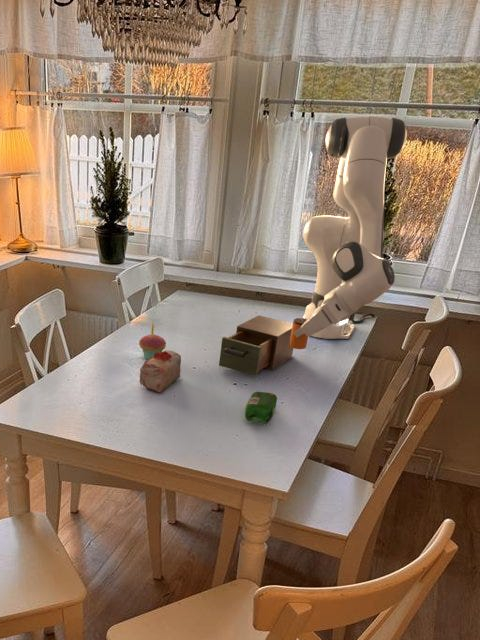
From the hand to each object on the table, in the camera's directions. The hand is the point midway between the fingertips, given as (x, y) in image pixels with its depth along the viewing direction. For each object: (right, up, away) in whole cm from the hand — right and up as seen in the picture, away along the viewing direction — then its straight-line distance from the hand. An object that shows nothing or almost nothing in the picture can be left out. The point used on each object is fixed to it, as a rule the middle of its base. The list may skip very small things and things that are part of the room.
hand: (298, 331), depth 194 cm
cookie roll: (0, -4, +2) cm, 4 cm away
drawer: (-14, -9, +8) cm, 19 cm away
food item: (-41, -16, -4) cm, 45 cm away
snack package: (-16, -27, -20) cm, 37 cm away
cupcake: (-43, -5, +14) cm, 45 cm away
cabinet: (-7, -5, +17) cm, 19 cm away
